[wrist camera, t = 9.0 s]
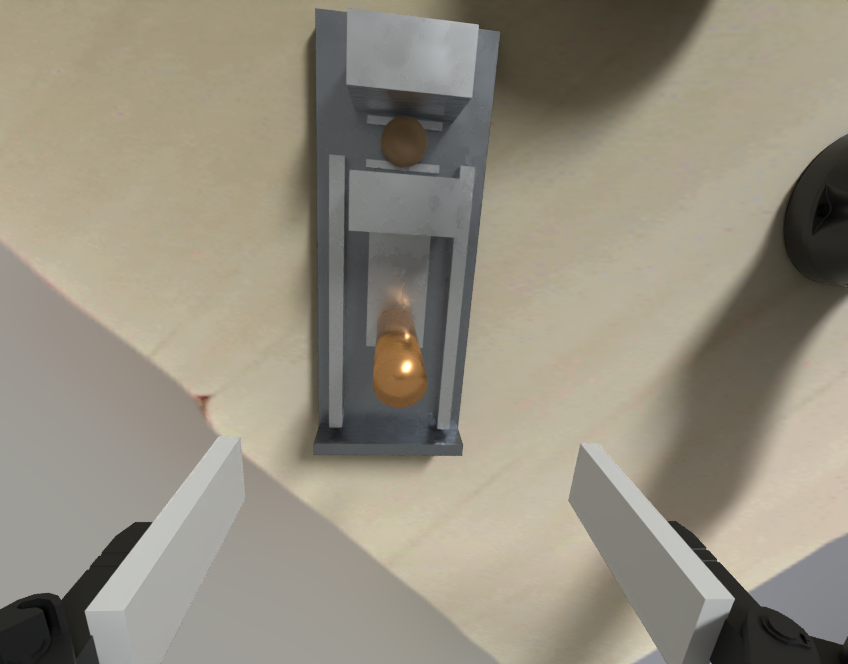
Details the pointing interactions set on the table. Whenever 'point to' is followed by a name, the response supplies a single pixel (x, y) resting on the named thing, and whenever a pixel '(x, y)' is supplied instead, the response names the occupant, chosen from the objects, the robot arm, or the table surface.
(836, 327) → the table surface
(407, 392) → the ram handle
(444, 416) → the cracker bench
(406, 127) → the walnut
